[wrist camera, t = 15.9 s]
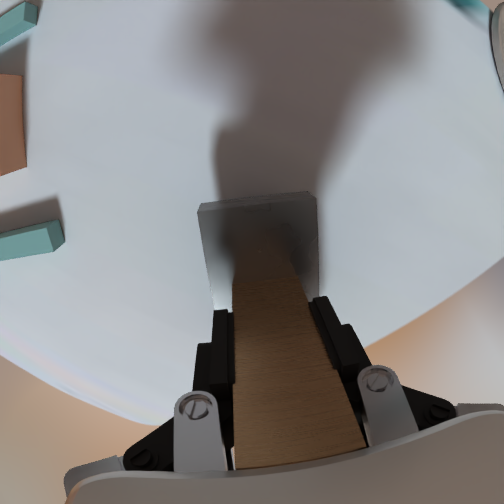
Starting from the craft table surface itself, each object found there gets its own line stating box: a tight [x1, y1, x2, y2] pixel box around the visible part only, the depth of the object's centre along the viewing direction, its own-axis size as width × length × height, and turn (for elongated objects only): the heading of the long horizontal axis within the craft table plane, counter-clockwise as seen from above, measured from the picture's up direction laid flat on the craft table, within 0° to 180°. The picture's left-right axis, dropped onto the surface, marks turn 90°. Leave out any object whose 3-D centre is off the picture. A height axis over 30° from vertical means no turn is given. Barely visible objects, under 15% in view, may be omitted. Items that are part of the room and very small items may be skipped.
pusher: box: [197, 191, 366, 470], centre depth 11 cm, size 10×5×11 cm, turn 6°
